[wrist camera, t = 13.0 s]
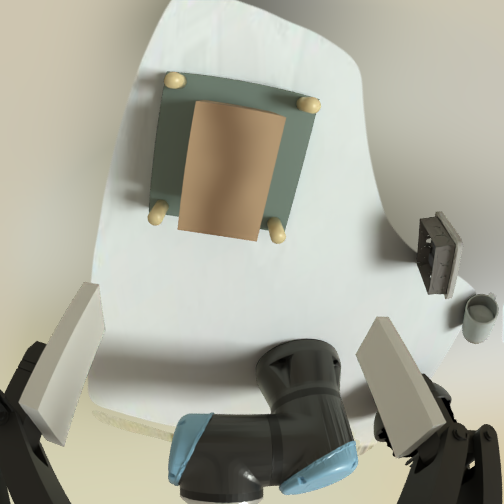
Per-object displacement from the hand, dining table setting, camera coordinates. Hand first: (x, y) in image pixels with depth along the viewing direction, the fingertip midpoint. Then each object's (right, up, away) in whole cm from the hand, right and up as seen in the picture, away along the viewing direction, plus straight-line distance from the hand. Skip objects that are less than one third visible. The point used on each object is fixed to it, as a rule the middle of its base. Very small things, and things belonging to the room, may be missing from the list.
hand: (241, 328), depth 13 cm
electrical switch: (+26, +5, +26) cm, 37 cm away
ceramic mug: (+47, -8, +35) cm, 59 cm away
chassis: (-2, +14, +18) cm, 23 cm away
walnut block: (-2, +14, +17) cm, 22 cm away
